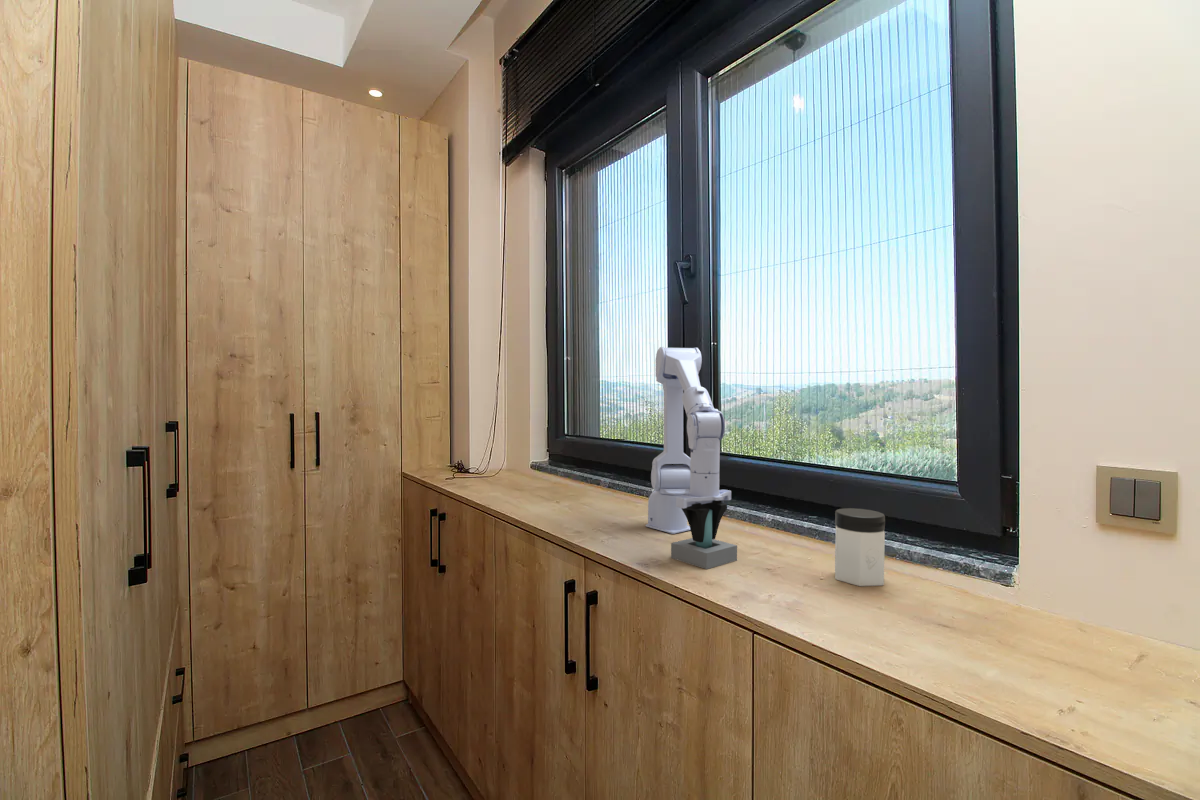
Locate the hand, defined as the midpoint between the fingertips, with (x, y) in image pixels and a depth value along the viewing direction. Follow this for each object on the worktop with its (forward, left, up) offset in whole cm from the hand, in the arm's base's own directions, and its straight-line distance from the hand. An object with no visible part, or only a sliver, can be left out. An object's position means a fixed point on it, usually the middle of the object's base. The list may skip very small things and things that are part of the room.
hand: (704, 539), depth 113 cm
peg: (0, 0, -2) cm, 2 cm away
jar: (+25, +13, -4) cm, 28 cm away
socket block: (0, 0, -4) cm, 4 cm away
